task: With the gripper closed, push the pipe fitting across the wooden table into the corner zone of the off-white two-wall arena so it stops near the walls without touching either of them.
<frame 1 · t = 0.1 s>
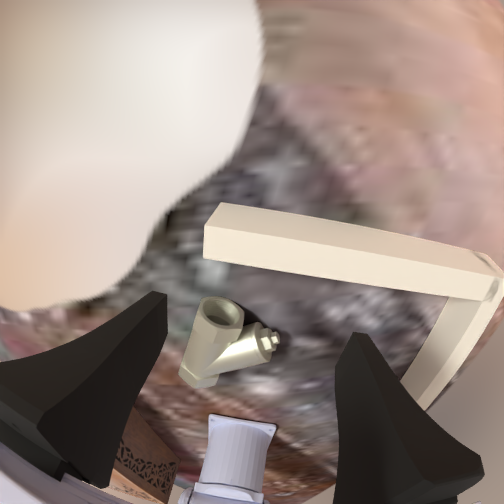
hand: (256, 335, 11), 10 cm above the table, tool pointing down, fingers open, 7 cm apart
pipe fitting: (232, 335, 25), on the table
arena: (318, 345, 24), on the table
tissue box cover: (111, 414, 38), on the table
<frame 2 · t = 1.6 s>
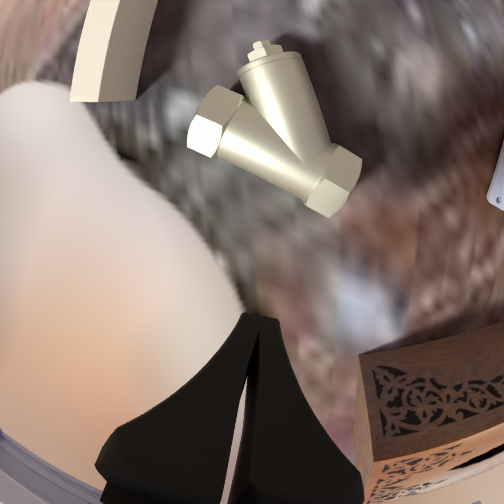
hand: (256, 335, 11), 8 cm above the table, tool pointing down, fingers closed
pipe fitting: (290, 119, 15), on the table
tissue box cover: (468, 373, 23), on the table
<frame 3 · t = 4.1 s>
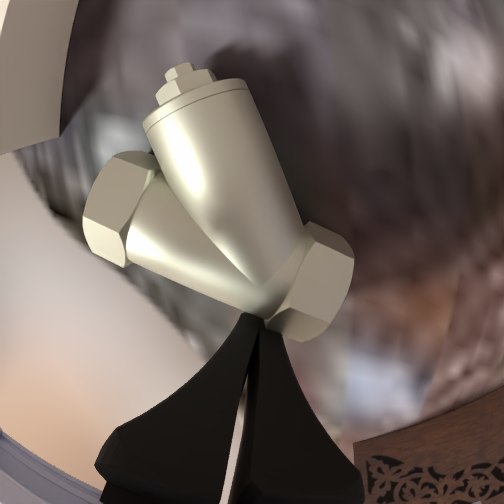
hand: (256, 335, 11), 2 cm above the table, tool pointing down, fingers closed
pipe fitting: (245, 182, 11), on the table, touching gripper
tissue box cover: (490, 420, 17), on the table
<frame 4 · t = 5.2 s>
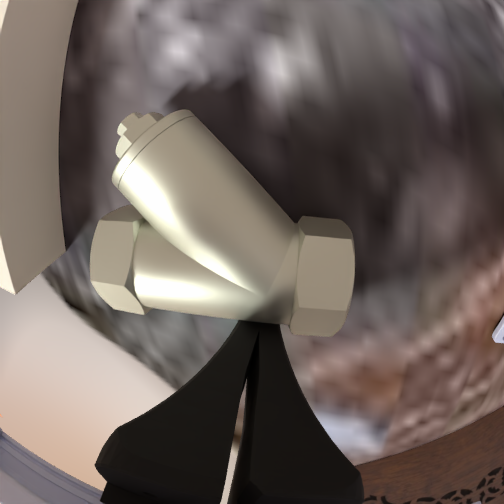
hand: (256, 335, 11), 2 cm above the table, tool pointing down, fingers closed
pipe fitting: (232, 199, 11), on the table
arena: (280, 67, 8), on the table
tissue box cover: (456, 449, 20), on the table
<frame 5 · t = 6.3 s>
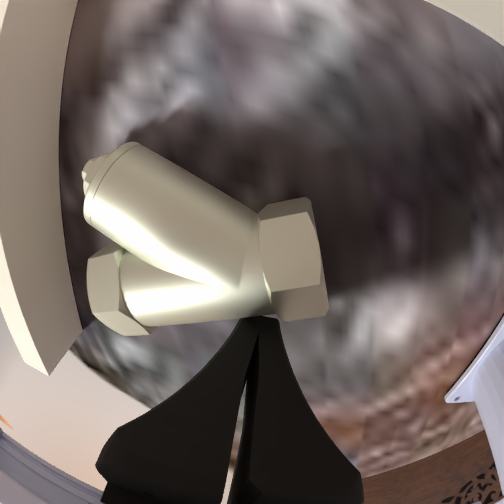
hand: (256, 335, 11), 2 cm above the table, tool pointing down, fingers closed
pipe fitting: (204, 209, 11), on the table, touching gripper
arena: (252, 218, 11), on the table
tissue box cover: (428, 470, 22), on the table
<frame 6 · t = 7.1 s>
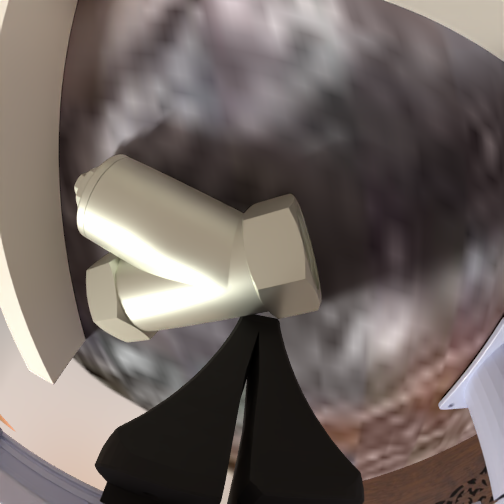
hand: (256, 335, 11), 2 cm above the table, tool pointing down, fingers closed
pipe fitting: (196, 213, 12), on the table, touching gripper
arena: (249, 237, 11), on the table
tissue box cover: (425, 472, 23), on the table
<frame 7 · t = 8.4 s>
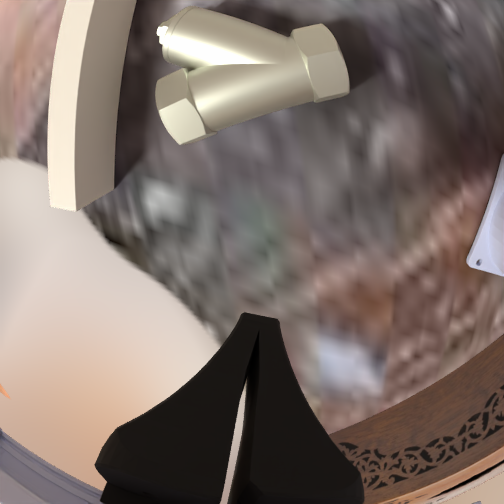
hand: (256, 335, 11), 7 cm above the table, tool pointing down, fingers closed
pipe fitting: (246, 59, 13), on the table
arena: (286, 52, 12), on the table
tissue box cover: (454, 402, 24), on the table
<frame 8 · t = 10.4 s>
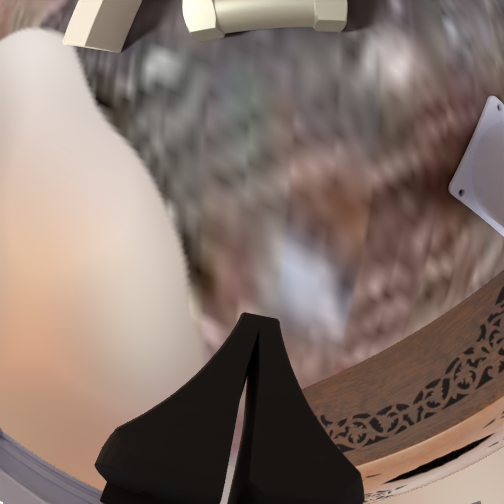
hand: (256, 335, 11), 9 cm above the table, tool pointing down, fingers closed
tissue box cover: (417, 377, 25), on the table
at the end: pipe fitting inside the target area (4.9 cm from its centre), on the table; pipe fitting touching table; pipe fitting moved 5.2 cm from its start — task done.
